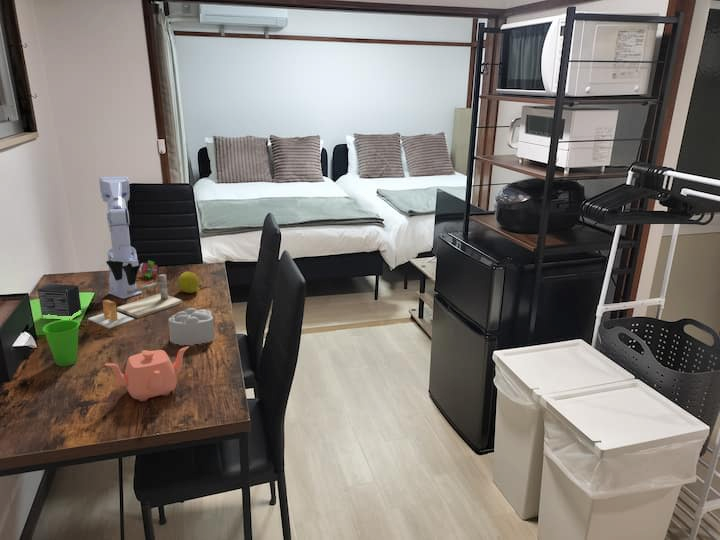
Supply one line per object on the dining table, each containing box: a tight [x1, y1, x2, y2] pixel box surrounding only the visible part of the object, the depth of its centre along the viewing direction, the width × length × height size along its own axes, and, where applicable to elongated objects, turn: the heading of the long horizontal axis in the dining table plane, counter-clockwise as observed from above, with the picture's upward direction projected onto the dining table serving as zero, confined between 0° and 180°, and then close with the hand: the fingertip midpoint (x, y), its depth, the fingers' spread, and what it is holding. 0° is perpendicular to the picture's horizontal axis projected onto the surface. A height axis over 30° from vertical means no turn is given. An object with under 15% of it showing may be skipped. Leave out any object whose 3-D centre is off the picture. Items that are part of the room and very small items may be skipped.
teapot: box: [104, 346, 190, 402], centre depth 132 cm, size 14×14×11 cm
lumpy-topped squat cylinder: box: [167, 307, 215, 346], centre depth 162 cm, size 10×13×9 cm
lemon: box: [177, 271, 200, 294], centre depth 199 cm, size 11×8×8 cm
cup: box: [41, 319, 81, 367], centre depth 144 cm, size 9×9×11 cm
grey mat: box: [87, 311, 135, 329], centre depth 174 cm, size 12×9×1 cm
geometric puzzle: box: [138, 259, 159, 279], centre depth 215 cm, size 7×7×8 cm
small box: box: [37, 283, 82, 316], centre depth 174 cm, size 11×6×10 cm, turn 84°
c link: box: [101, 299, 118, 321], centre depth 173 cm, size 5×2×6 cm, turn 57°
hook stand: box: [116, 274, 183, 319], centre depth 184 cm, size 12×18×10 cm, turn 146°
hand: (125, 282), depth 180 cm, fingers open, 7 cm apart
